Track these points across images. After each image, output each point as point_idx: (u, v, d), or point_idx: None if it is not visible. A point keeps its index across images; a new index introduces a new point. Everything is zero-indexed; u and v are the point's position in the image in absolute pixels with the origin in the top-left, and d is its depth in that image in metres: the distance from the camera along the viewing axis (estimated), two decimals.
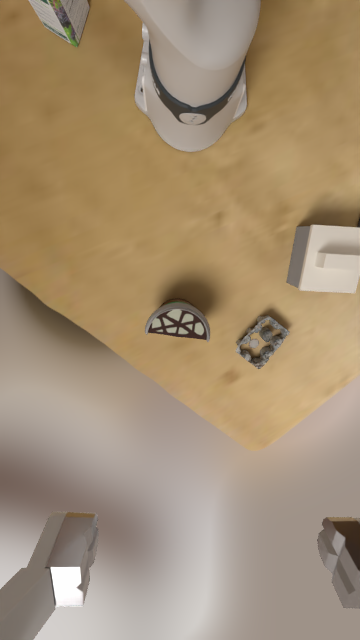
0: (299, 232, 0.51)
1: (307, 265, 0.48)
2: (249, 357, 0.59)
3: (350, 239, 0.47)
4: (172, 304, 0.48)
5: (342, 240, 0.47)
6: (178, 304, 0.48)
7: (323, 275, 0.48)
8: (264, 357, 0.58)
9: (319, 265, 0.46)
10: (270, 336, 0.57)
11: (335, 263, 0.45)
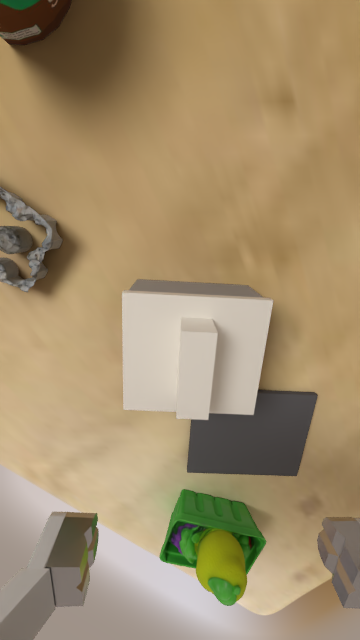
0: (241, 288, 0.25)
1: (182, 301, 0.20)
2: None
3: (235, 380, 0.22)
4: None
5: (234, 366, 0.22)
6: None
7: (159, 341, 0.21)
8: None
9: (186, 325, 0.19)
10: (5, 247, 0.23)
11: (193, 357, 0.18)
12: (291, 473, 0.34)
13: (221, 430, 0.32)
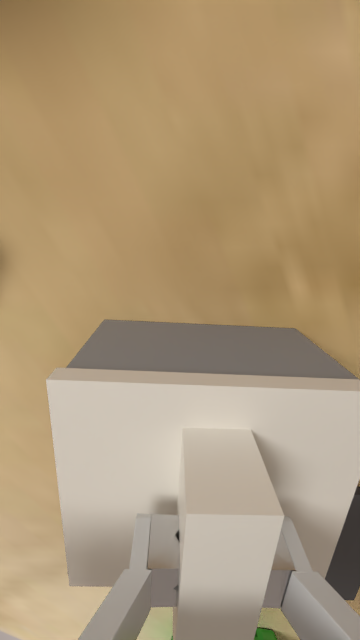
0: (289, 338, 0.14)
1: (186, 396, 0.09)
2: None
3: None
4: None
5: (292, 513, 0.11)
6: None
7: (135, 472, 0.10)
8: None
9: (196, 471, 0.08)
10: None
11: (216, 565, 0.07)
12: (346, 597, 0.23)
13: None
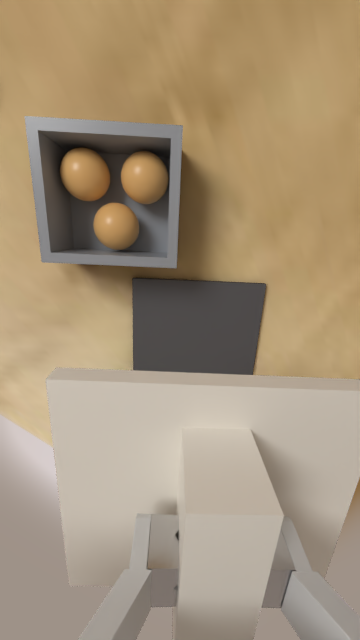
0: None
1: (185, 396, 0.09)
2: None
3: None
4: None
5: (291, 513, 0.11)
6: None
7: (135, 472, 0.10)
8: None
9: (196, 470, 0.08)
10: None
11: (215, 565, 0.07)
12: None
13: (165, 328, 0.30)
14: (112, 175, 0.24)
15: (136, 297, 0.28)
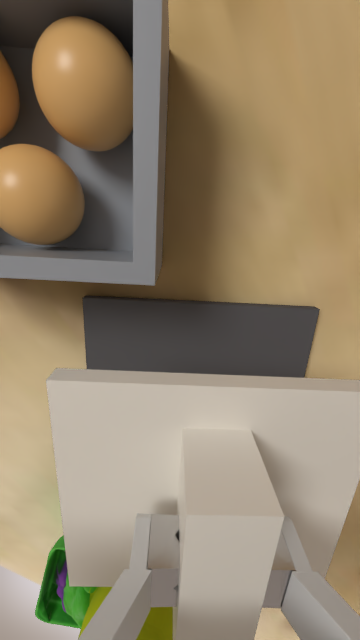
0: None
1: (186, 397, 0.09)
2: None
3: None
4: None
5: (291, 513, 0.11)
6: None
7: (135, 473, 0.10)
8: None
9: (196, 472, 0.08)
10: None
11: (216, 567, 0.07)
12: None
13: None
14: (32, 96, 0.12)
15: (91, 330, 0.16)
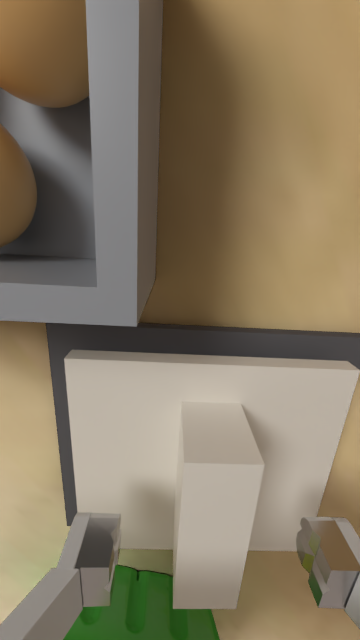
0: None
1: (184, 374, 0.10)
2: None
3: (278, 502, 0.13)
4: None
5: (278, 480, 0.12)
6: None
7: (140, 442, 0.11)
8: None
9: (193, 433, 0.09)
10: None
11: (209, 510, 0.08)
12: None
13: None
14: None
15: (59, 366, 0.12)
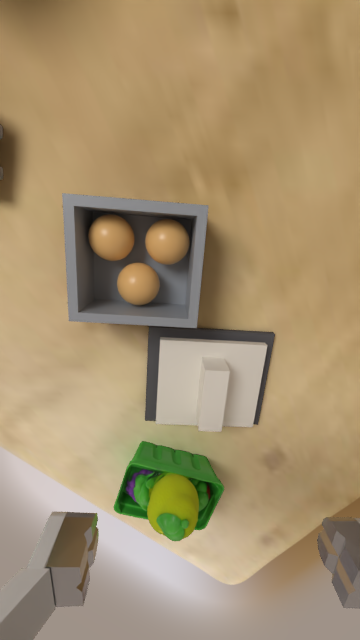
0: None
1: (203, 346, 0.28)
2: None
3: (239, 402, 0.30)
4: None
5: (239, 391, 0.30)
6: None
7: (184, 373, 0.29)
8: None
9: (207, 364, 0.27)
10: None
11: (212, 387, 0.26)
12: None
13: None
14: (135, 234, 0.26)
15: (151, 344, 0.30)
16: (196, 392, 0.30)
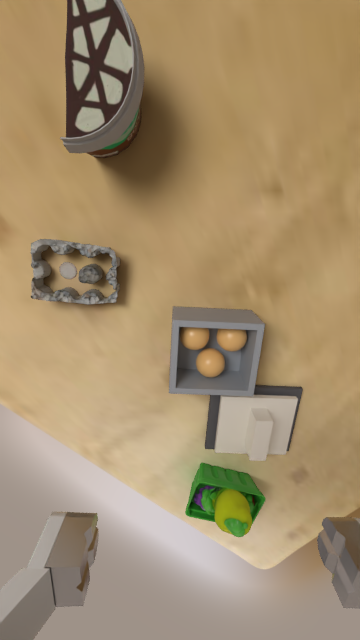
0: (246, 313, 0.36)
1: (252, 400, 0.40)
2: (40, 274, 0.34)
3: (276, 437, 0.42)
4: (140, 52, 0.22)
5: (276, 430, 0.41)
6: (141, 68, 0.22)
7: (238, 418, 0.41)
8: (55, 294, 0.33)
9: (256, 415, 0.38)
10: (91, 279, 0.33)
11: (260, 432, 0.38)
12: None
13: None
14: None
15: (213, 397, 0.41)
16: (245, 431, 0.41)
